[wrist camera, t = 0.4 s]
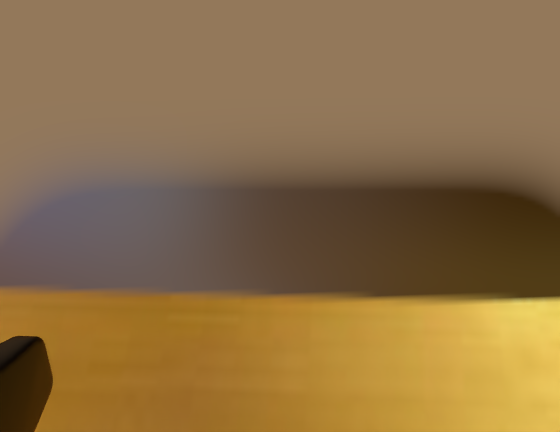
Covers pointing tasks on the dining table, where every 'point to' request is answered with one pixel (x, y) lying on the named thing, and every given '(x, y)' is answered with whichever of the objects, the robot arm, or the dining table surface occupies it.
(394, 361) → the dining table surface
